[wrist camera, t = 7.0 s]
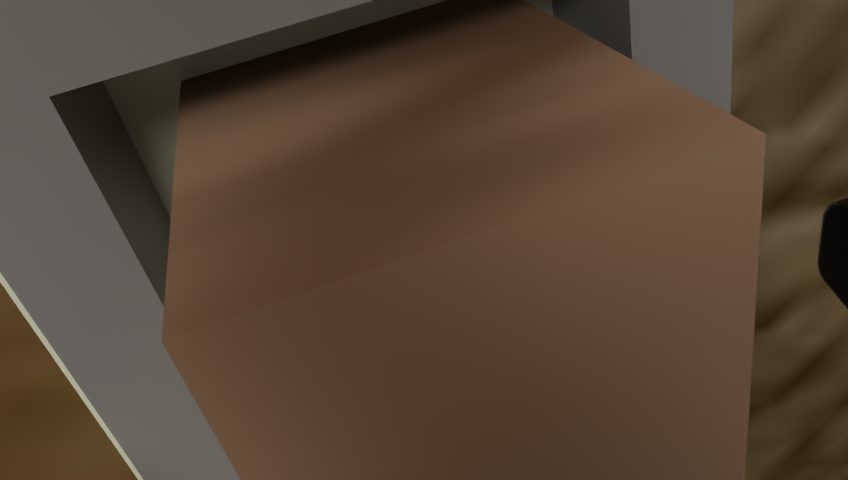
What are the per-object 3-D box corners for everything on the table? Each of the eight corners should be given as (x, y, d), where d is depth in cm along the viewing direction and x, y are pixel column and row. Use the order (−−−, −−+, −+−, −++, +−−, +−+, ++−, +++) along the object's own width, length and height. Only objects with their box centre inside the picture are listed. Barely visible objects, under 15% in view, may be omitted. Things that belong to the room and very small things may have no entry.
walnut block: (497, -16, 9) (766, 133, 5) (551, 338, 12) (736, 611, 8) (181, 81, 8) (162, 342, 4) (328, 420, 12) (399, 755, 7)
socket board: (687, -316, 8) (854, -363, 6) (689, 366, 14) (773, 459, 12) (-223, -82, 7) (-400, -39, 5) (202, 548, 13) (203, 686, 11)
